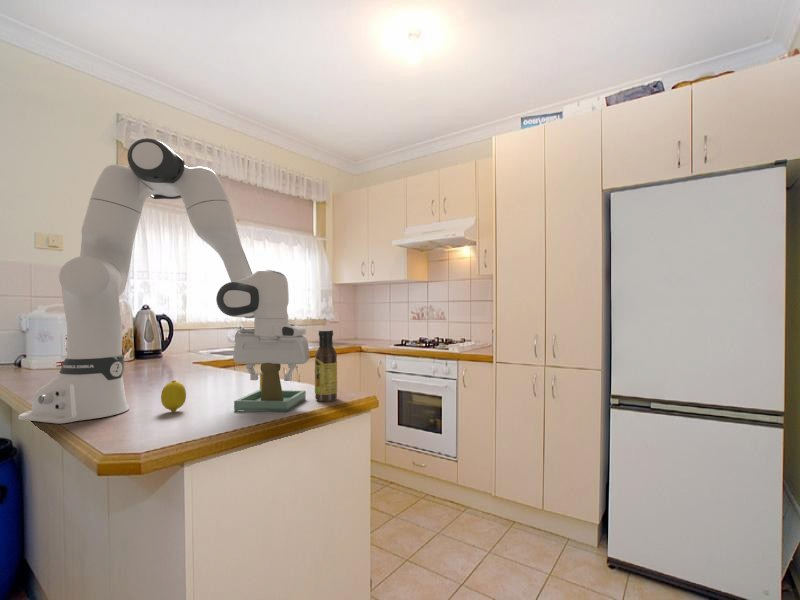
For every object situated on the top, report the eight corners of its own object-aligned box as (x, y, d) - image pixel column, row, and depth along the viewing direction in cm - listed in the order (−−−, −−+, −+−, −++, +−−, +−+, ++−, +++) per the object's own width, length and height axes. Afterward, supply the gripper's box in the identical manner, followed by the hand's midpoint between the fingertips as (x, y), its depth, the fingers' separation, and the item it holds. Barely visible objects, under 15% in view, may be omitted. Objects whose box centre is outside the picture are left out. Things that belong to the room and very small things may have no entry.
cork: (275, 404, 105) (273, 361, 105) (255, 403, 106) (253, 362, 107) (288, 398, 111) (286, 359, 111) (268, 398, 112) (267, 359, 112)
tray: (234, 410, 102) (234, 401, 102) (258, 398, 116) (258, 390, 116) (287, 411, 101) (287, 401, 101) (305, 399, 115) (305, 390, 115)
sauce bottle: (315, 397, 117) (315, 329, 117) (337, 396, 118) (336, 329, 118) (314, 402, 110) (314, 330, 111) (337, 401, 111) (337, 330, 112)
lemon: (155, 413, 100) (156, 381, 100) (175, 408, 105) (175, 377, 105) (171, 415, 98) (171, 382, 98) (191, 410, 103) (191, 379, 103)
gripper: (229, 329, 107) (228, 381, 106) (303, 329, 105) (303, 383, 104) (240, 328, 113) (240, 377, 113) (311, 328, 111) (310, 378, 111)
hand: (271, 380), depth 108 cm, fingers open, 8 cm apart
